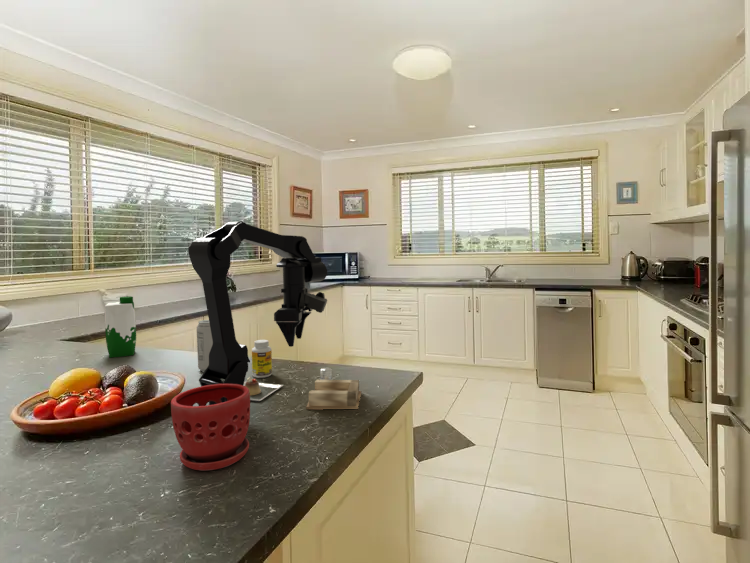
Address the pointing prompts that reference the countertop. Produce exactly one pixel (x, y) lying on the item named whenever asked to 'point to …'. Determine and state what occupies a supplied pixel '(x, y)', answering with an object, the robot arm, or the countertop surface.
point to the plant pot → (212, 425)
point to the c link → (334, 393)
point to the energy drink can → (204, 344)
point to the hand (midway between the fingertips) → (295, 342)
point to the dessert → (255, 388)
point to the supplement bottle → (261, 359)
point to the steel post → (326, 373)
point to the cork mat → (336, 406)
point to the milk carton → (120, 327)
